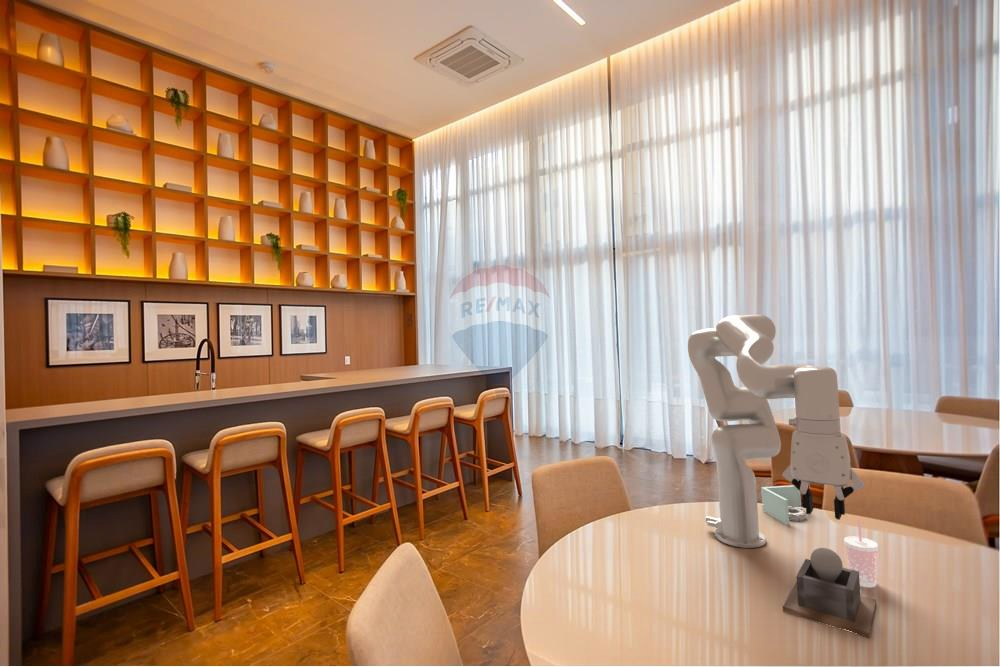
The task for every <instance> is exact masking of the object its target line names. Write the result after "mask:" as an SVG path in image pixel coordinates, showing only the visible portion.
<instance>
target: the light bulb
mask: <svg viewBox="0 0 1000 667" xmlns="http://www.w3.org/2000/svg"><path fill="white" fill-rule="evenodd" d="M809 558H810V560H811V564H812V567H813V568H814V570H815V571H816V573H817V574H818V576H819V577H820V580H824V581H828V582H832V583H834V582H835V580H836V579H837V577H838V576H839V575H840V573H841V572H842V568H844V567H843V561H842V559H841V557H840V556H839V554H838V553H836V551H834V550H833V549H830V548H827V547H818V548H816V549H813V551H812V552H811V554H810V557H809Z"/></svg>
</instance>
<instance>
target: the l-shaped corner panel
mask: <svg viewBox="0 0 1000 667" xmlns="http://www.w3.org/2000/svg"><path fill="white" fill-rule="evenodd" d="M760 491H761V506H762V507H761V508H762V511H763V512H764V511H765V512H764V513H766V514H768V515H769V516H771V517H772V516H773V518H774V519H776V520H777V519H778V520H777V521H779V522H780V523H782V524H783V525H785V524H786V525H785V526H790V521H791V522H792V521H795V522H799V521H800V522H802V521H804V520H806V517H805V516H806V511H805V510H802V509H799V508H795V507H801V508H802V494H801V493H800V491H799V490H798V489H797V488H796V487H795V486H794V485H793V484H792V485H791V484H790V485H777V486H761V489H760ZM762 504H764V505H762ZM788 506H792V507H788Z"/></svg>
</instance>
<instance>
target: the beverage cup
mask: <svg viewBox="0 0 1000 667" xmlns="http://www.w3.org/2000/svg"><path fill="white" fill-rule="evenodd" d="M857 529H858V536H852V535H851V536H849V535H848V536H846V537H844V538H843V541H844V542H843V543H844V546H845V548H846V549H845V551H846V556H847V565H848V569H851V570H855V571H859V580H860V587H863V588H875V587H876V586H877V557H878V556H877V551H878V549H879V545H878V542H876V541H874V540H872V539H869V538H866V537H862V524H861V519H859V518H858V519H857Z"/></svg>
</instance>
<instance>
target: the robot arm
mask: <svg viewBox="0 0 1000 667" xmlns="http://www.w3.org/2000/svg"><path fill="white" fill-rule="evenodd" d="M776 331H777V330H776V326H775V323H774V322H773V320H772V319H771V318H770V317H769V316H767V315H763V314H759V313H758V314H742V315H740V314H739V315H738V314H737V315H730V316H726V317H724V318H722V319H720V321H719V322H718V323H717V324H716V327H715V328H714V327H713V328H704V329H700V330H699V329H698V330H696V331H694V332H693V333H691V334H690V336H689V338H688V341H687V351H688V352H687V353H688V357H689V360H690V362H691V365H692V367H693V368H694V371H695V372H696V374H697V375H698V378H699V379H700V384H701V387H702V391H703V395H704V397H705V402H706V406H707V408H708V411H709V414H710V416H711V418H712V419H714V420H715V421H719V422H738V421H748V423H740V424H727V425H726V424H725V425H721V426H719V427H717V428H716V429H714V430H713V431H712V434H711V446H712V450H713V452H714V457H715V462H716V473H717V484H718V501H719V516H720V517H717V518H716V517H713V516H709V515H707V516H706V517H705V523H706V524H707V526H708V527H714V528H716V530H715V531H714V532H715V534H714V535H715V538H716V539H717V540H718V541H719V542H721V543H723V544H726V545H729V546H731V547H737V548H742V549H744V548H745V549H755V548H759V547H763V546H764V545H765V544H767V543H766V542H767V538H766V535H765V534H763V533H762V532H761V531H760V529H759V528H760V527H759V526H760V525H759V511H758V509H759V508H758V497H757V496H758V495H757V494H758V493H757V479H756V476H755V472H754V471H753V469H752V468H751V467H750V466H749V465H748V463H747V462H746V461H747V460H754V459H755V460H756V459H767V458H773V457H776V456H778V455H779V453H780V452H781V448H782V441H781V437H780V434H779V430H778V427H777V424H776V421H775V418H774V415H773V412H772V409H771V405H770V403H769V400H777V399H778V400H779V399H795V400H794V401H795V415H796V416H795V417H794V418H789V419H788V425H789V426H793V427H794V428H795V430H794V431H792V434H791V435H792V436H791V441H790V442H791V444H790V464H789V465H788V466H787V468H785V470H784V471H783V472H782V473H781V475H782V477H783V478H784V479H785V480H786V481H788V482H790V483H791V484H792V485H794V486H795V487H796V488H797V489H798V490H799V491H800V494H801V503H802V509H805V515H811V514H812V512H813V511H814V505H813V492H812V491H811V489H810V485H811V483H812V484H813V483H814V484H820V485H828V486H832V487H833V490H834V493H835V497H834V498H833V506H834V519H836V520H841V518H842V516H843V515H844V516H845V515H846V508H845V499H846V498H848V497H849V496H850V495H852V494H853V493H854V492H857V491H860V490H862V489H864V488H865V485H866V484H865V482H864V481H863V480H862V478H861V477H860V476H859V475H858V474H857V473H856V471H855V470H854V469H853V468H852V462H851V456H850V449H849V445H848V440H847V437H846V435H845V433H841V432H842V431H841V416H840V415H841V414H840V401H839V400H840V399H839V386H838V375H837V372H836V370H835V369H834V368H831V367H828V366H814V365H811V364H807V363H791V364H789V363H788V364H785V363H783V364H772V365H771V364H770V365H769V364H768V365H764V364H765V363H766V362H767V361H768V360H769V359H770V358H772V355H773V353H774V349H775V348H774V343H773V341H774V339H775V337H776ZM734 356H735V357H736V358H737V359H736V365H735V366H736V372H737V375H738V378H739V380H740V382H741V383H742V385H743V386H742V387H741V386H740V387H738V386H736V384H735V383H734V381H733V378H732V375H731V372H730V370H729V369H728V368H727V367H726V365H724V364H723V363H722V362H721V361H720V360H718V359H717V357H719V358H720V357H734ZM851 482H852V483H851ZM850 483H851V484H850Z"/></svg>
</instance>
